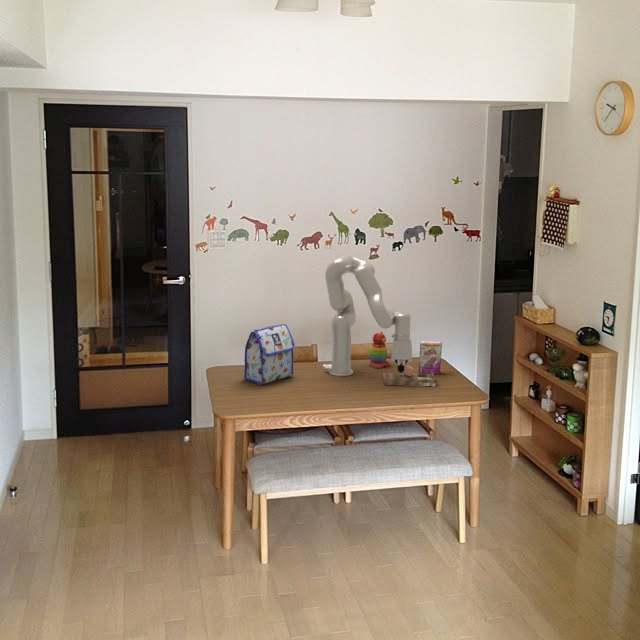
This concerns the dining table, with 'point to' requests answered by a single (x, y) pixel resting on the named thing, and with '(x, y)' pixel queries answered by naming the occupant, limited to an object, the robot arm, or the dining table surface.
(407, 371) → the block
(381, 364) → the stacking bear
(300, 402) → the dining table surface
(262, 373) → the lunch bag
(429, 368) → the candy bar box
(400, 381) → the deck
